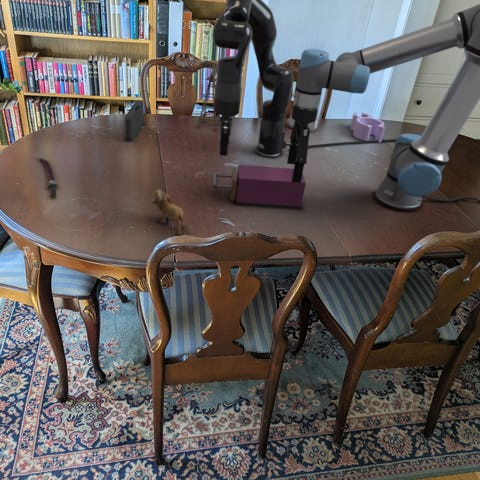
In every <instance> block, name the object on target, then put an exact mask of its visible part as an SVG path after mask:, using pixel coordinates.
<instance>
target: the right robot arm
mask: <svg viewBox="0 0 480 480" xmlns="http://www.w3.org/2000/svg"><path fill="white" fill-rule="evenodd" d="M455 47H456V48H458V49H460V50H461V49H463V52H464V56H465V57H464V58H465V59H464V61H463V62H462V64H461V66H460V67H459V69H458V70H457V72H456V74H455V76H454V78H453V80H452V81H451V83H450V85H449V87H448V88H447V90H446V92H445V94H444V96H443V97H442V99H441V101H440V102H439V104H438V106H437V107H436V110H435V111H434V113H433V115H432V117H431V118H430V120H429V122H428V123H427V125H426V127H425V129H424V131H423V132H422V134H421V135H420V134H415V133H414V134H413V133H401V134H399V135H398V136H397V138H396V139H397V141H394V148H393V151H392V153H391V157H390V161H389V164H388V169H387V172H386V175H385V177H384V179H383V180H382V181H381V182H380V184H379V186H378V187H377V188H376V190H375V194H374V197H375V200H376V201H377V202H378V203H380V204H381V205H383V206H385V207H386V208H387V207H388V208H389V209H392V210H395V211H401V212H402V211H403V212H412V211H416V210H418V209H419V208H421V205H422V199H426V200H431V201H433V202H434V201H435V202H440V203H442V202H443V203H445V202H446V203H449V202H455V201H458V200H462V201H463V200H474V201H477V202H478V203H479V204H480V198H478V197H473V196H462V197H459V196H458V197H455V198H451V199H443V198H442V199H441V198H435V197H430V196H429V195H431V194H432V193H434V192H436V190H438V188H439V187H440V185H441V183H442V172H443V170H444V169H445V167H446V166H447V163H449V161H450V157H449V154H448V152H449V150H450V148H451V147H452V145H453V143H454V142H455V140H456V139H457V137H458V136H459V133H460V132H461V131H462V130H463V127H464V126H465V124H466V122H467V121H468V119H469V117H470V116H471V115H472V113H473V111H474V110H475V108H476V106H477V104H478V103H479V102H480V3H479V4H477V5H473V6H472V7H471V6H470V7H469V8H466V9H464V10H461V11H458V12H455V13H454V14H453V15H452V17H451V18H449V19H446V20H444V21H440V22H438V23H435V24H431V25H429V26H425V27H423V28H420V29H417V30H414V31H412V32H409V33H405V34H401V35H399V36H397V37H394V38H391V39H388V40H384V41H382V42H379V43H376V44H372V45H370V46H368V47H363V48H361V49H359V50H355V51H353V52H350V51H346V52H342V53H341V54H339V55H338V56H337V58H336V59H335V60H331V59H330V58H329V57H330V54H329V52H327V51H326V50H321V49H317V48H307V49H304V50H303V51H302V53H301V57H300V61H299V66H298V71H297V78H296V84H295V92H294V93H292V97H293V104H294V105H292V108H291V111H292V113H291V112H290V115H291V117H292V119H293V120H295V122H294V125H293V128H291V133H290V137H289V144H290V146H289V149H288V155H287V160H286V164H287V165H294V166H293V169H294V171H293V176H292V182H297V183H301V179H302V174H303V175H304V168H305V165H307V162H308V150H309V148H308V146H309V143H310V142H309V139H310V135H311V132H310V130H309V127H308V124H309V123H313V122H315V121H316V118H317V113H318V109H317V108H318V107H319V108H320V103H321V98H322V93H323V89H327V90H334V91H339V92H344V93H350V94H361V95H362V94H364V93H365V92H366V90H367V87H368V86H369V85H368V84H369V80H370V75H371V74H374V73H376V72H380V71H384V70H386V69H389V68H393V67H396V66H399V65H402V64H405V63H409V62H412V61H414V60H418V59H422V58H425V57H427V56H430V55H434V54H437V53H440V52H443V51H446V50H450V49H453V48H455ZM318 114H319V113H318Z"/></svg>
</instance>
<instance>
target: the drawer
mask: <svg viewBox="0 0 480 480" xmlns="http://www.w3.org/2000/svg"><path fill="white" fill-rule="evenodd" d="M231 170H232V171H231V174H218V173H217V172H214V173H213V174H212V188H213V189H217V188H220V189H230V201H233V202H236V183H237V167H232V169H231ZM218 178H230V179H231V181H230V185H223V184H218Z"/></svg>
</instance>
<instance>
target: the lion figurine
mask: <svg viewBox="0 0 480 480" xmlns="http://www.w3.org/2000/svg"><path fill="white" fill-rule="evenodd" d="M154 191H155V192H154V194H153V196H152V197H150V198H149V200H150V201H151V203H152V204H153V205H155V206H156V207H158V209H159V211H160V212H161V217H162V219H161V220H160V223H162V224H163V223H166V222H167V220H171V219H173V223H174V225H175V227H176V229H177V231H176V235H178V236H180V235H182V229H183V230H184V232H185V233H186V234H188V235H190V234H191V232H190V231H189V230H187V229H186V227H185V221H184V220H185V219H184V218H185V213H184V210H183V209H182V208H181V207H179V206H177V205H176V204H175V203H173V200H172V198H171V197H170V195H169V194H168V192H166V191H164V190H162V189H156V190H154ZM179 221H180V223H179Z"/></svg>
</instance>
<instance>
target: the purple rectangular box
mask: <svg viewBox="0 0 480 480" xmlns="http://www.w3.org/2000/svg"><path fill="white" fill-rule="evenodd" d="M293 171H294V168H290V167H277V166H263V165H251V164H250V165H249V164H238V165H237V171H236V178H237V181H236V191H235V205H237V206H251V207H252V206H253V207H267V208H280V209H293V210H302V206H303V201H304V196H305V191H306V184H307V182H306V179H305V177H304V173H303V174H302V179H301V183H297V182H292V176H293Z"/></svg>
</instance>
